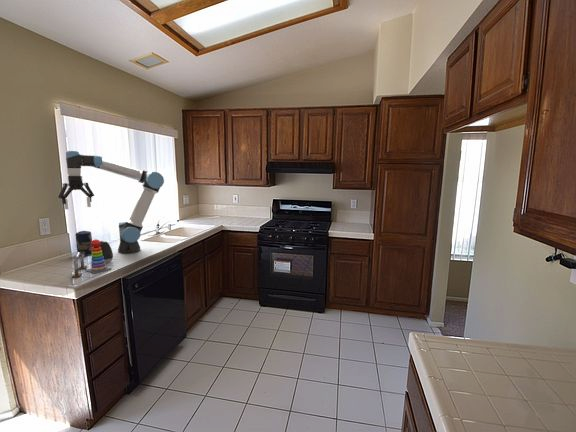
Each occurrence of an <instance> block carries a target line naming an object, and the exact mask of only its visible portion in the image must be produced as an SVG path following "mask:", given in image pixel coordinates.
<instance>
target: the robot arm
mask: <svg viewBox="0 0 576 432" xmlns="http://www.w3.org/2000/svg"><path fill="white" fill-rule="evenodd" d="M65 160H66V161H65V162H66V168H67V169H66V170H67V175H68V176H67V181H68V183H67V182H63V183H62V187H61V189H60V191H59V195H58V199H61V200H62V201H61V202H62V204H63V207H64V210H69V204H68V201H69V200H68V197H69V196H70V194H71V193H72V192H73V191H81V192H82V193H83V194H84V195H85V196H86V204H87V206H86V207H87V208H91V207H92V206H91V203H92V201H93V200H92V198H93V197H95V194H94V192H93V191H92V189H91V188H90V186H89V183H88V182H83V181H84V180H83V176H82V175H83V171H82V169H83V168H82V167H92V168H96V169H98V170H101V171H106V172H108V173H112V174H115V175H118V176H122V177H125V178H128V179H132V180H135V181H137V182H138V183H141V184H142V185H141V188H142V191H141V192H140V195H139V198H138V199H137V202H136V204H135V207H134V209H133V211H132V213H131V215H130V218H129V219H128V220H126V221H122V222H119V223H118V232H119V233H118V234H119V245H118V249H117V253H118V254H120V255H121V254H123V255H127V254H128V255H129V254H134V253H138V252H140V251H141V246H140V244H139V242H138V240H140V237H141V235H142V234H141V232H142V230H143V228H144V226H143V222H144V220H145V218H146V215H147V213H148V211H149V209H150V206H151V204H152V202H153V200H154V197H155V195H156V194H158V193H159V192H160V190H161V188H162V187H163V186H164V183H165V179H164V176H163V174H161V173H159V172H157V171H147V170H145V169H144V170H143V169H140V170H139V169H136V168H133V167H130V166H127V165H123V164H121V163H118V162H115V161H111V160H107V159H106V158H105V159H104V158H103V156H102V155H100V154H81V151H78V150H67V151H66V152H65ZM84 187H85V188H84Z"/></svg>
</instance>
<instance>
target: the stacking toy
mask: <svg viewBox="0 0 576 432" xmlns="http://www.w3.org/2000/svg"><path fill="white" fill-rule="evenodd" d="M100 241H101V240H99V239H92V242H91V246H92V247H93V248H92V249H91V250H92V252H91V253H92V254H91V255H90V256H91V261H90V263H91V264H90V266H91V267H90V269H91V270H94V271H98V270H103V269H105V268H106V267H107V265H106V264H105V262H104V261H105V260H104V256H103V254H102V250H101V247H99V246H100V244H101V242H100Z"/></svg>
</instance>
